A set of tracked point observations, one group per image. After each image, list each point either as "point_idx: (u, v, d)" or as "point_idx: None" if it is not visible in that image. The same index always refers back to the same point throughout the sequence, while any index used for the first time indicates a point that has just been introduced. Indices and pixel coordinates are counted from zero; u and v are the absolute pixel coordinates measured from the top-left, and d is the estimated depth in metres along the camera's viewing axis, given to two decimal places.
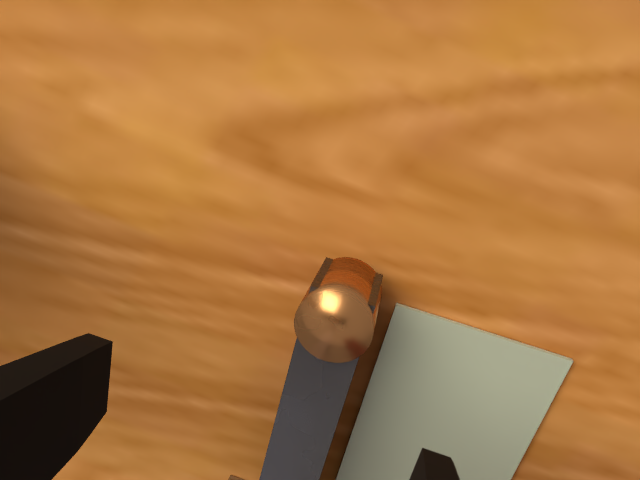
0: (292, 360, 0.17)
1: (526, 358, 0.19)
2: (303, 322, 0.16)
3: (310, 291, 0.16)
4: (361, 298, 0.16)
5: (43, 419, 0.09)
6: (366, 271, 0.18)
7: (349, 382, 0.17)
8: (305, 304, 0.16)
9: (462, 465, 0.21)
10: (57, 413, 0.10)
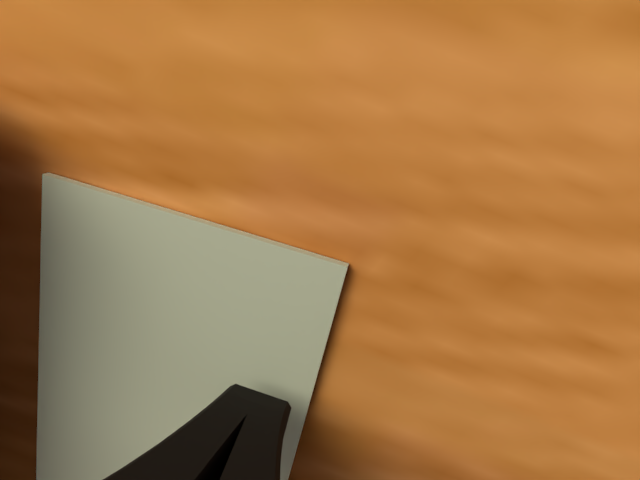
0: None
1: (268, 265, 0.10)
2: None
3: None
4: None
5: None
6: None
7: None
8: None
9: None
10: None
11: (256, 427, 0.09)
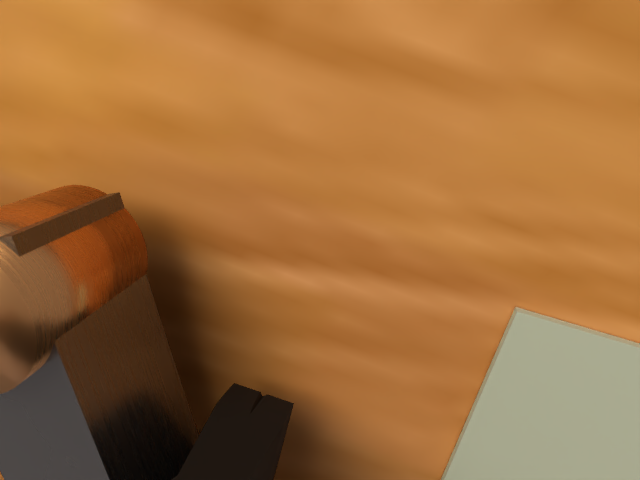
0: None
1: None
2: None
3: None
4: None
5: None
6: (67, 194, 0.09)
7: (82, 419, 0.08)
8: None
9: None
10: None
11: (224, 416, 0.09)
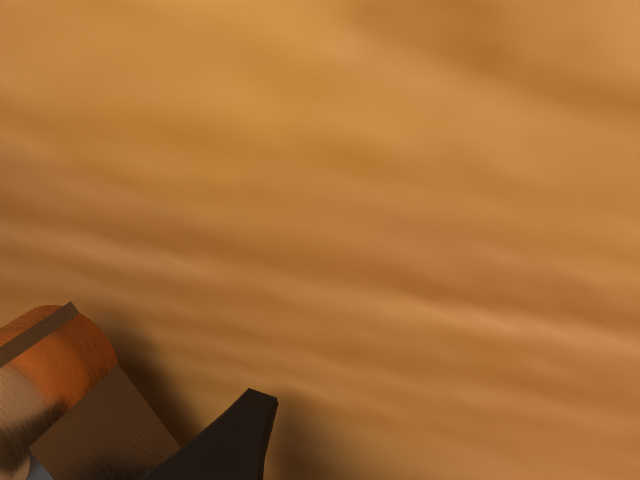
0: None
1: None
2: None
3: None
4: None
5: None
6: (25, 318, 0.10)
7: None
8: None
9: None
10: None
11: (241, 422, 0.09)
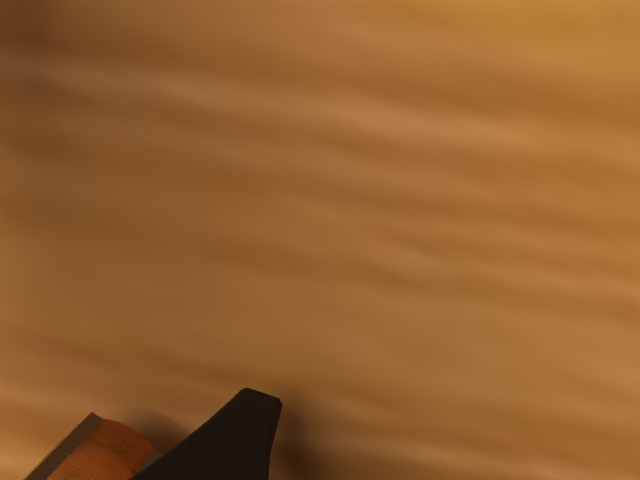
0: None
1: None
2: None
3: None
4: None
5: None
6: (59, 443, 0.11)
7: None
8: None
9: None
10: None
11: (246, 424, 0.09)
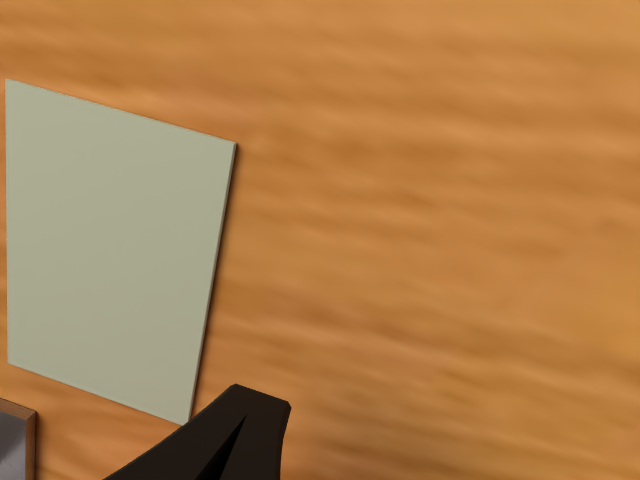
0: None
1: (177, 145, 0.14)
2: None
3: None
4: None
5: None
6: None
7: None
8: None
9: (141, 321, 0.16)
10: None
11: (256, 427, 0.09)
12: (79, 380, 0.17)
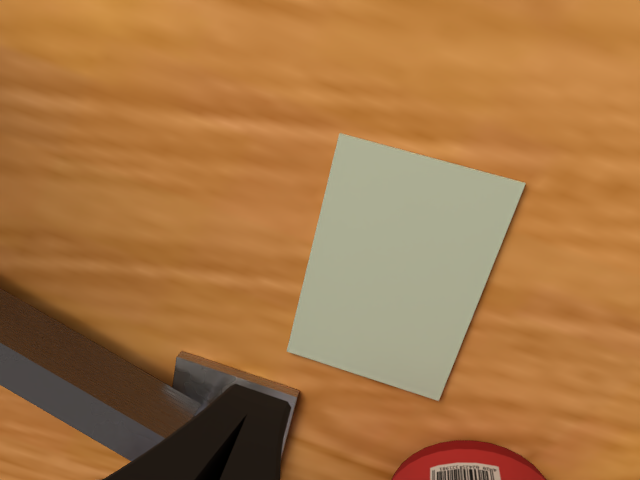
0: None
1: (476, 184, 0.18)
2: None
3: None
4: None
5: None
6: None
7: None
8: None
9: (416, 317, 0.20)
10: None
11: (256, 427, 0.09)
12: (349, 364, 0.22)
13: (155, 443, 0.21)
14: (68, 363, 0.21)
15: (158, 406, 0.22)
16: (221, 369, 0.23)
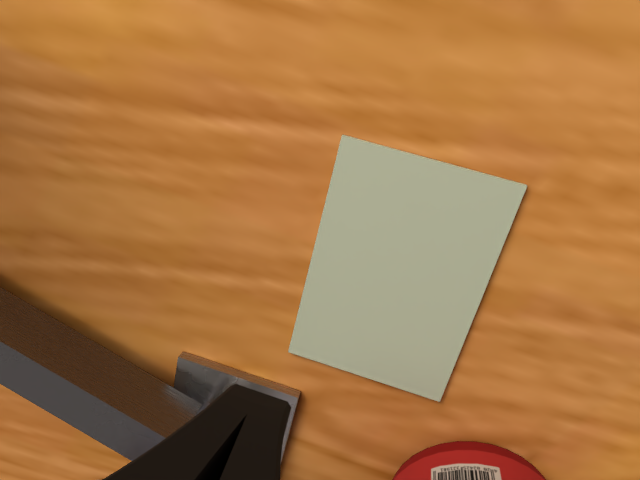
0: None
1: (478, 186, 0.18)
2: None
3: None
4: None
5: None
6: None
7: None
8: None
9: (418, 318, 0.20)
10: None
11: (256, 427, 0.09)
12: (351, 365, 0.22)
13: (157, 443, 0.21)
14: (70, 364, 0.21)
15: (160, 406, 0.22)
16: (222, 370, 0.23)
